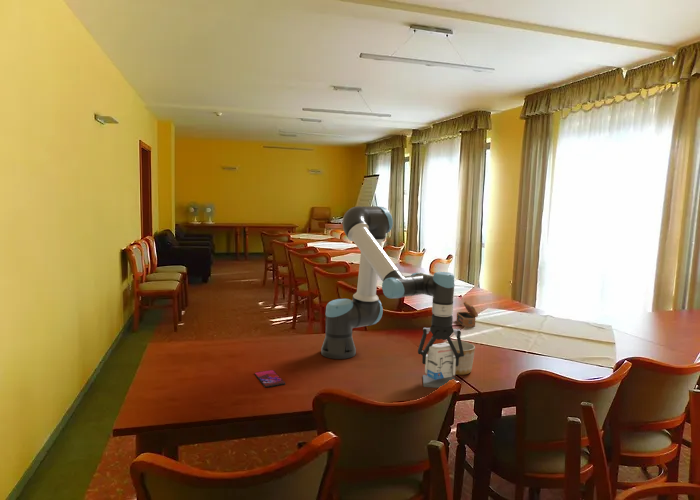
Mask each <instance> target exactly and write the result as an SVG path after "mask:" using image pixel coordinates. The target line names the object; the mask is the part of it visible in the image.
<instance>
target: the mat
mask: <svg viewBox="0 0 700 500" xmlns="http://www.w3.org/2000/svg"><path fill="white" fill-rule="evenodd" d="M452 379H454V380H455V381H456V377H455V376H452V377H447V378H442V379H437V380H435V379H433V378H431V377H429V376H427V374H423V375H422V382H423V385H422V386H423V387H424V388H437V389H440V388H439V387H440V386H442V385H444V384H445V383H447V382H448V381H449V380H452Z"/></svg>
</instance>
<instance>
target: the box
mask: <svg viewBox="0 0 700 500" xmlns="http://www.w3.org/2000/svg"><path fill="white" fill-rule="evenodd" d="M463 306H464V307H465V310H466V311H458V312H456V323H458V324H460V326H462V327H464V328H474V327H476V318H478V316H479V314H478V312H477V310H476V309H475V307H474V306H473V305H471V304H470V303H468V302H467V301H464V302H463Z"/></svg>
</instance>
